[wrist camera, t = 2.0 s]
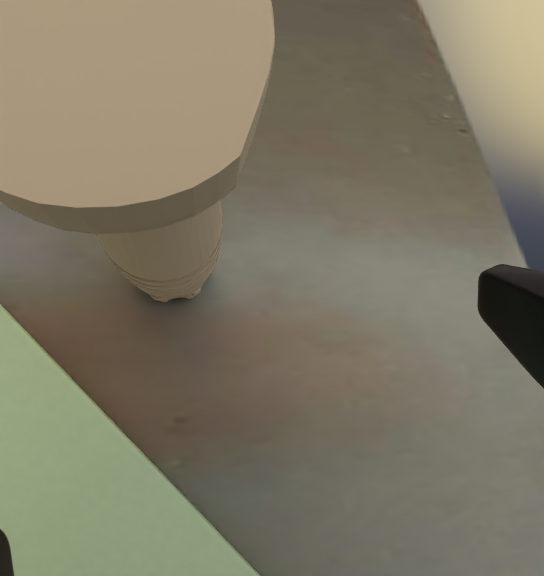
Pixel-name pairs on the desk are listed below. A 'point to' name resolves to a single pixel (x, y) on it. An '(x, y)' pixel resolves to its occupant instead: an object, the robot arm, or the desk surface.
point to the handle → (132, 124)
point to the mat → (88, 484)
